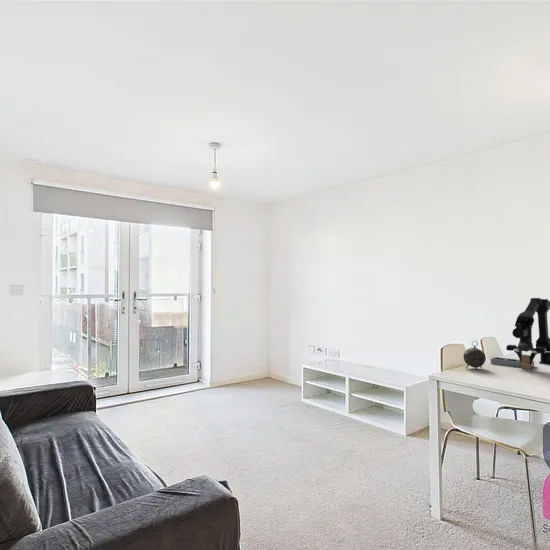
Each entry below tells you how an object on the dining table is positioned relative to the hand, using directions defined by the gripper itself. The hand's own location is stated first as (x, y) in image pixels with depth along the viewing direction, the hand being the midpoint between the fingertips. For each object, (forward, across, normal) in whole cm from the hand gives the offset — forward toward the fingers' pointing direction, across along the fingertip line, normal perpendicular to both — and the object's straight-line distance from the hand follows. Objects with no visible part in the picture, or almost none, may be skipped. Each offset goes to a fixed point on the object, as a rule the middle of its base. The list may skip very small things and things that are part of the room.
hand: (526, 364), depth 222 cm
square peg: (+3, 0, 0) cm, 3 cm away
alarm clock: (+3, -22, -18) cm, 29 cm away
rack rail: (+3, -9, +8) cm, 12 cm away
